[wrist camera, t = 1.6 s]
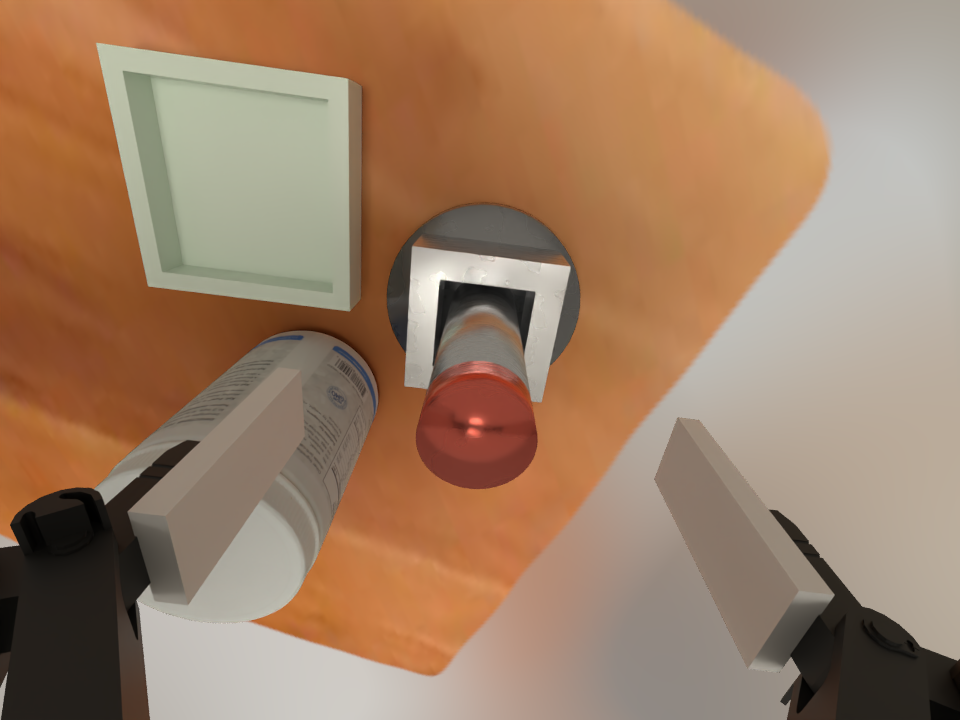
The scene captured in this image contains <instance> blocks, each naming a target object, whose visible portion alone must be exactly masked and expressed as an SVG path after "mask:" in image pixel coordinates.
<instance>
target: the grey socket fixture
mask: <svg viewBox="0 0 960 720" xmlns="http://www.w3.org/2000/svg"><path fill="white" fill-rule="evenodd" d="M462 282H464V283H472V284H480V285H488V286H496V287H503V288H509V289H510V290H511V292H512V294H513V296H514V300H515V306H516V312H517V318H518V324H519V329H520V335H521V341H522V347H523V353H524V359H525V365H526V371H527V377H528V383H529V389H530V395H531V401H533V402H542V398H543V393H544V389H545V384H546V379H547V375H548V370H549V366H550V365H551V364H552V363H553V362H554V361H555V360H556V359H557V358H558V357H559V356H560V354H561V353H562V352H563V350H564V349H565V347H566V346H567V344H568V343H569V341H570V339H571V336H572V334H573V332H574V330H575V327H576V323H577V320H578V315H579V309H580V289H579V281H578V277H577V273H576V270H575V267H574V265H573V262H572V260H571V258H570V256H569V254H568V253H567V251H566V249H565V248H564V246H563V245H562V244H561V242H560V241H559V240H558V239H557V237H556V236H555V235H554V234H553V233H552V232H551V231H550V230H549V229H548V228H547V227H546V226H545V225H544V224H543V223H541V222H540V221H539V220H537V219H536V218H534V217H533V216H531V215H529V214H527V213H525V212H524V211H522V210H519V209H516V208H513V207H510V206H507V205H502V204H497V203H470V204H465V205H461V206H456V207H454V208H451V209H448V210H446V211H444V212H442V213H440V214H438V215H436V216H434V217H433V218H431V219H430V220H429V221H427V222H426V223H424V224H423V225H422V226H421V227H420V228H419V229H418V230H417V231H416V232H415V233H414V234H413V235H412V236H411V237H410V238H409V239H408V241H407V242H406V243H405V245H404V246H403V247H402V249H401V250H400V252H399V254H398V256H397V257H396V259H395V262H394V264H393V267H392V269H391V273H390V277H389V281H388V288H387V308H388V314H389V319H390V323H391V326H392V329H393V331H394V334H395V336H396V338H397V340H398V342H399V343H400V345H401V347H402V348H403V350H404V351H405V352H406V365H405V383H404V386H407V387H415V388H424V389H428V385H429V382H430V378H431V374H432V371H433V367H434V363H435V359H436V356H437V352H438V348H439V345H440V341H441V337H442V334H443V330H444V326H445V322H446V319H447V315H448V311H449V308H450V304H451V300H452V297H453V294H454V292H455V290H456V289H457V287H458V286H459V285H460V284H461V283H462Z"/></svg>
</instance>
